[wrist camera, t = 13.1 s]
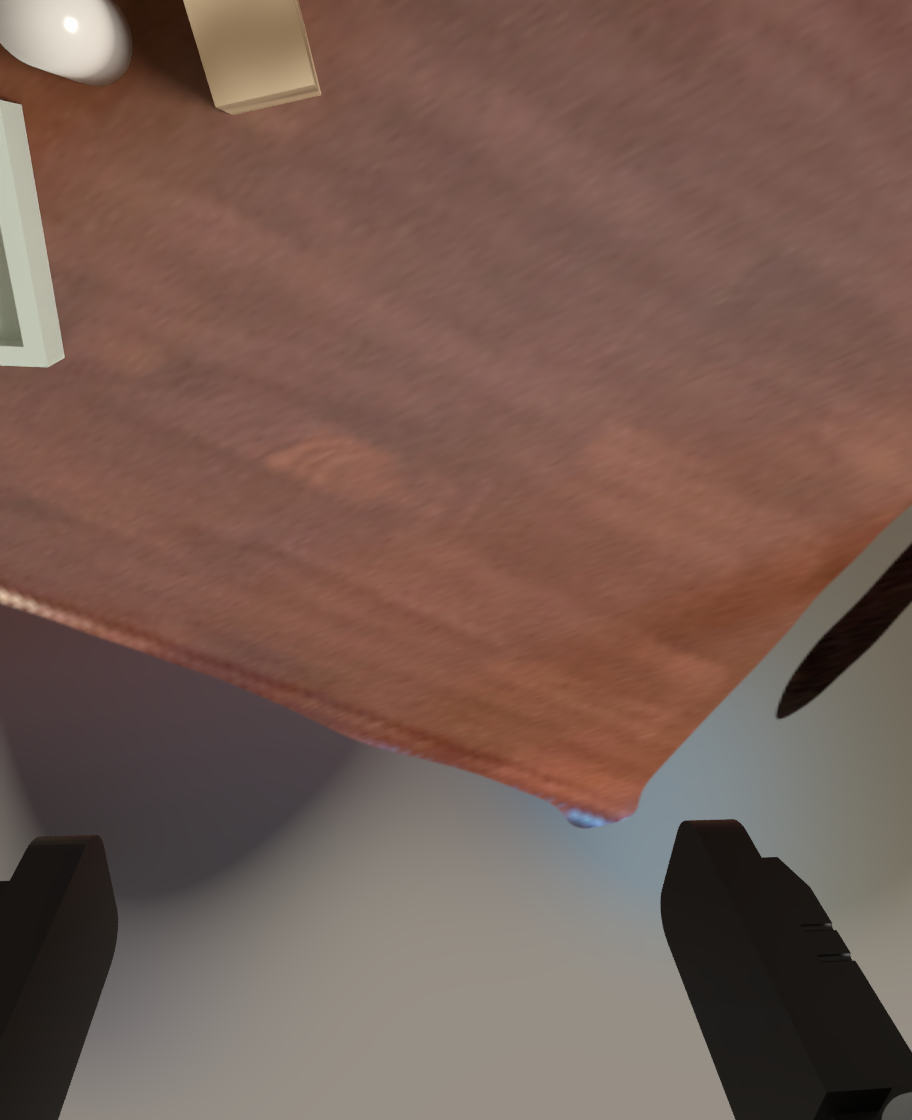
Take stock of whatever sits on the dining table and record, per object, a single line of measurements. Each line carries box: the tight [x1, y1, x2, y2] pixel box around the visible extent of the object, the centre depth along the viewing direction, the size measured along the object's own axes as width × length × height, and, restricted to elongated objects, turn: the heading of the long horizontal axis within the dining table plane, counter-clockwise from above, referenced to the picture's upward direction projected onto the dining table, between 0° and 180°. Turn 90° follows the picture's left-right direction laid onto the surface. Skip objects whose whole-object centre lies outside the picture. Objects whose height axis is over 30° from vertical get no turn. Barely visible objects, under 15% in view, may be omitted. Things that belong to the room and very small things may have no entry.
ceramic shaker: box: [0, 0, 133, 86], centre depth 32 cm, size 4×4×6 cm
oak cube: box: [183, 0, 321, 115], centre depth 34 cm, size 4×4×4 cm
